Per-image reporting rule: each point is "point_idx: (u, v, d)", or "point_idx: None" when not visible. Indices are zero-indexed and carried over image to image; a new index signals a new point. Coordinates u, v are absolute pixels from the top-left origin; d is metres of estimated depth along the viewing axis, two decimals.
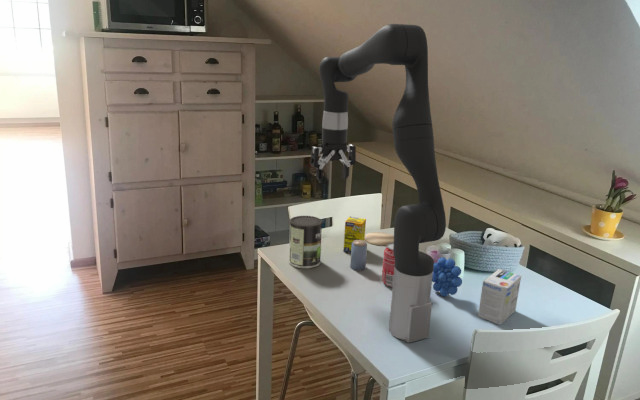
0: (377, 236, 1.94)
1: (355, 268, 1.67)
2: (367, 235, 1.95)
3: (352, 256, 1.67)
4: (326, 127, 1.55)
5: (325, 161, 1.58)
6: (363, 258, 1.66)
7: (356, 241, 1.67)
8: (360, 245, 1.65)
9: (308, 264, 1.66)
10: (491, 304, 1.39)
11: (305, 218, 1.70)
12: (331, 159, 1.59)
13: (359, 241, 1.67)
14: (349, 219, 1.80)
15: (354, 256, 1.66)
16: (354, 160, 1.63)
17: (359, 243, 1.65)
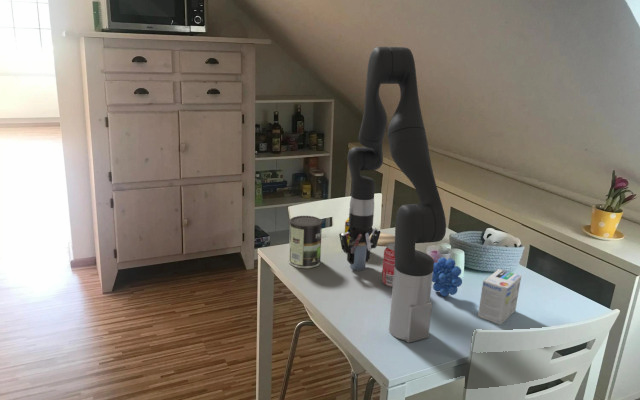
0: None
1: (355, 268, 1.67)
2: None
3: None
4: (353, 213, 1.61)
5: (352, 244, 1.63)
6: (363, 258, 1.66)
7: None
8: (360, 245, 1.65)
9: (308, 264, 1.66)
10: (491, 304, 1.39)
11: (305, 218, 1.70)
12: None
13: None
14: None
15: (354, 256, 1.66)
16: (375, 244, 1.68)
17: (359, 243, 1.65)
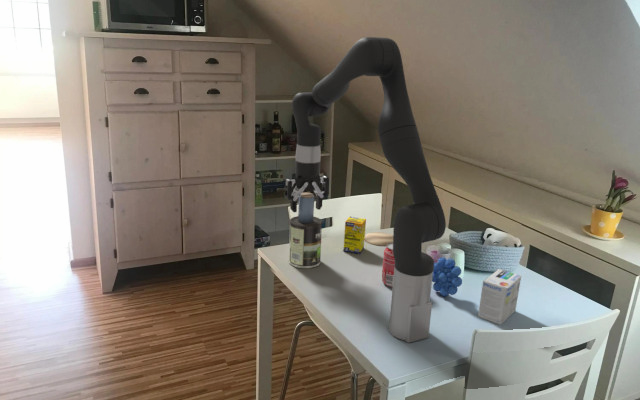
0: (377, 236, 1.94)
1: (302, 221, 1.65)
2: (367, 235, 1.95)
3: (299, 208, 1.65)
4: (299, 160, 1.59)
5: (298, 193, 1.61)
6: (310, 210, 1.64)
7: (303, 193, 1.65)
8: (307, 197, 1.63)
9: (308, 264, 1.66)
10: (491, 304, 1.38)
11: None
12: (304, 191, 1.63)
13: (306, 194, 1.65)
14: (349, 219, 1.80)
15: (301, 208, 1.64)
16: (327, 191, 1.66)
17: (306, 195, 1.64)
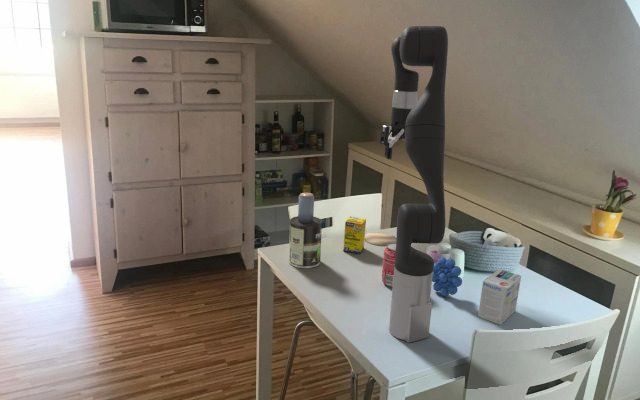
0: (377, 236, 1.94)
1: (302, 221, 1.65)
2: (367, 235, 1.95)
3: (299, 208, 1.65)
4: (397, 106, 1.59)
5: (395, 139, 1.62)
6: (310, 210, 1.64)
7: (303, 193, 1.65)
8: (306, 197, 1.63)
9: (308, 264, 1.66)
10: (491, 304, 1.39)
11: None
12: (400, 138, 1.63)
13: (306, 194, 1.65)
14: (349, 219, 1.80)
15: (301, 208, 1.64)
16: None
17: (306, 195, 1.64)
